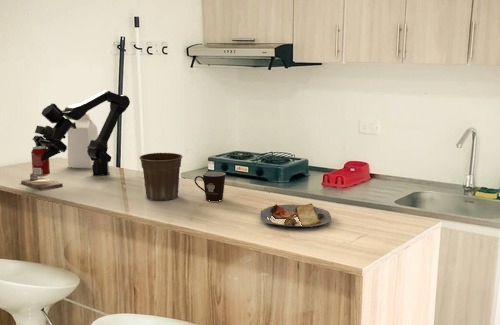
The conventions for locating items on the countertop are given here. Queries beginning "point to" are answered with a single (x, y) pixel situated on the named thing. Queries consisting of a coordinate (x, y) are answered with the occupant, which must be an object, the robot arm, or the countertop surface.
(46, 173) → the soda can
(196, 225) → the countertop surface
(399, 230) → the countertop surface
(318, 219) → the food plate
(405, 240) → the countertop surface
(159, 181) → the plant pot
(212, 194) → the coffee mug
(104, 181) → the countertop surface
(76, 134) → the milk
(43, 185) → the carrier board
